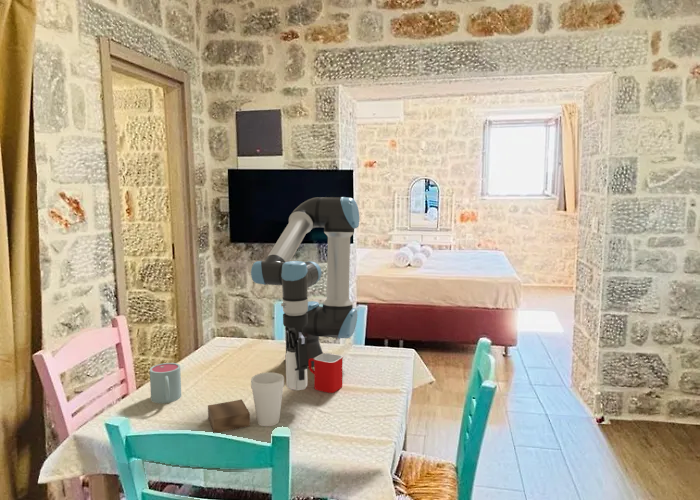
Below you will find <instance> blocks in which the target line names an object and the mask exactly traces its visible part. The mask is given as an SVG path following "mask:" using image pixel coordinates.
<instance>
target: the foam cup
mask: <svg viewBox="0 0 700 500" xmlns="http://www.w3.org/2000/svg"><path fill="white" fill-rule="evenodd" d="M250 387H251V388H250V389H251V390H252V396H253V403H254V409H255V416H256V421H257V424H258V425H259V426H262V427H271V426H272V427H273V426H275V425H277V424H279V422H280V417H281V407H282V399H283V390H284V388H285V376H284V375H283V374H282V373H278V372H272V371H271V372H270V371H269V372H262V373H257V374H255V375H254V376H252V377H251V379H250Z"/></svg>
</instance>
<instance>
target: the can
mask: <svg viewBox="0 0 700 500" xmlns="http://www.w3.org/2000/svg"><path fill="white" fill-rule="evenodd" d="M285 355H286V361H285V377H286V378H285V381H286V387H287V389H289V390H291V391H297V390H296V371H295V368H297V365H296V356H295V348H290V347H289V348H288V349H287V353H286V352H285ZM307 387H308V369H305V389H306V388H307Z"/></svg>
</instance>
